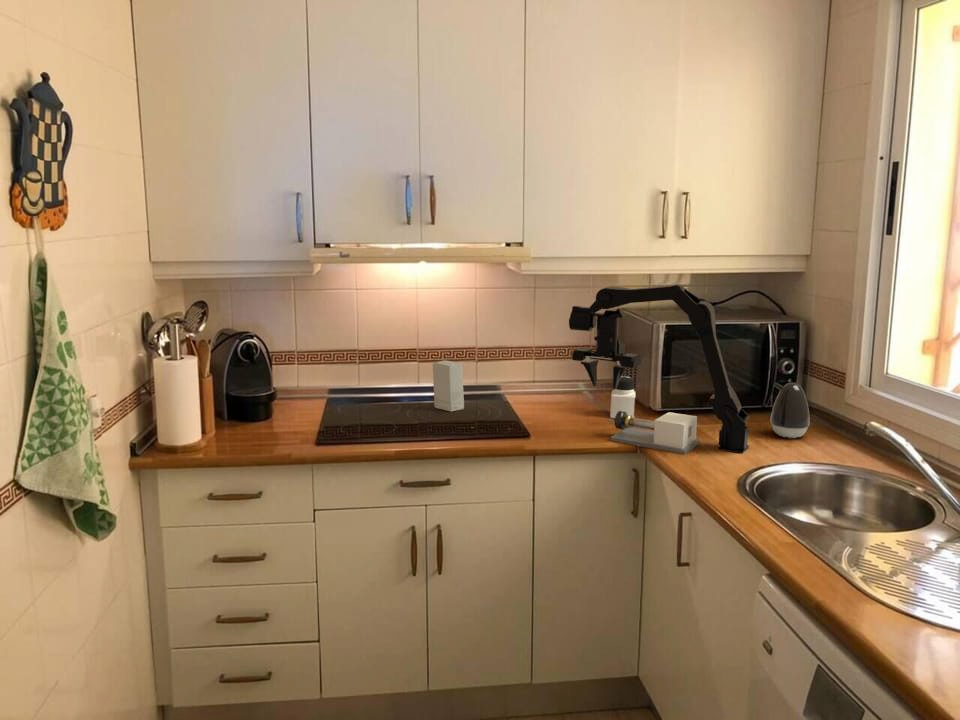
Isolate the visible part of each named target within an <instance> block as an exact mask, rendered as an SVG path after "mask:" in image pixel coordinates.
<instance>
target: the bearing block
mask: <svg viewBox="0 0 960 720" xmlns="http://www.w3.org/2000/svg"><path fill="white" fill-rule="evenodd" d="M654 421H655V426H654V430H649V429H643V428H637V427H631V428H626V427H625V428H624V429H622V430H621V431H619V432H617V433H615V434H614V435H612V436H610V439H609V441H610V442H614V443H622V444H627V445H631V446H638V447H644V448H648V449H654V450H660V451H665V452H670V453H676V454H681V455H686V454H688V453H689V452H690V451H692V450H693V449H695V448H696V447H697V446H698V445H700V444H701V439H699V438H697V427H698V425H697V424H698V422H697V421H698V416H697V415H689V414H682V413H676V412H670V411H668V412H667V413H665V414H663V415H661V416H660V417H658V418H656V419H655V420H654Z"/></svg>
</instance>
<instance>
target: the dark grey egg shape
mask: <svg viewBox="0 0 960 720" xmlns="http://www.w3.org/2000/svg"><path fill="white" fill-rule="evenodd" d="M773 386H774V387H775V388H776V389H778V390H779V392H778V394H777V396H776V398H775V401H774V403H773V407H772V411H771V415H770V422H769V423H771V428H772V430H773V431H774V433H775V434H776V435H778V436H780V437H781V436H782V438H785V437H788V438H787V439H797V437H798V438H800V437H802V436H803V435H805V433H806V432H807V430H808V428H809V427H810V421H811V420H810V409H809V403H808V400H807V397H806V393H805V391H804V389H803V387H802V386H801V385H800V384H798V383H796V382H789V383H786V384H785V385H784V386H783V385H781V384H779V383H778V382H774V384H773Z"/></svg>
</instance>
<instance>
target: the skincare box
mask: <svg viewBox="0 0 960 720" xmlns="http://www.w3.org/2000/svg"><path fill="white" fill-rule="evenodd" d="M463 373H464V372H463V362H457V361H451V360H440V361H436V362H433V363H432V376H433V377H432V379H433V399H434V408H435V409H439V410H444V411H447V412H454V411H461V410H464V409H465V399H464V398H465V397H464V395H465V394H464V378H463V377H464V376H463Z"/></svg>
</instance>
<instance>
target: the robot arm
mask: <svg viewBox="0 0 960 720" xmlns="http://www.w3.org/2000/svg"><path fill="white" fill-rule="evenodd" d="M660 301H661V302H662V301H673V302H674V303H675V304H676V305H677V306H678V307H679V308H680V309H681V311H683V312H684V313H685V314H686V315H688V316H687V317H688V320H689V322H690V323H691V326H692V328H693V329H694V331H695V333H696V335H697V336H698V338H699V340H700V343H701V346H702V350H703V354H704V357H705V361H706V364H707V367H708V371H709V376H710V378H711V382H712V386H713V390H714V393H712V395H710V397H709V401H710V404H711V406H712V414H713V415H716V418H717V419H718V420H719V421H721V424H722V425H721V429H720V430H719V431H718V445H719V446H718V447H717V449H718V450H722V451H728V452H733V453H739V454H744V453H745V452H746V451H747V450H748V449H749V448H750V445H749V444H748V443H749V442H748V440H749V425H748V426H747V422H748V420H749V418H750V416H749V414H748V413H746V411H745V410H744V409H742V404H741V402H740V400H739V397H738V395H737V393H736V392H735V390H734V389H733V387H732V386H731V383H730V381H729V376H728V373H727V371H726V370H727V369H726V366H725V363H724V359H723V356H722V352H721V348H720V344H719V342H718V341H719V340H718V338H717V332H716V312H715V308H714V306H713V305H712V303H710V302H708V301H705V300H701V298H699V297H698V296H696V295H695V294H694V293H692V292H691V291H690V290H688V289H687V288H685V287H684V286H683V285H682V284H679V283H676V284H673V285H662V286H653V287H652V286H650V287H649V286H648V287H637V288H636V287H635V288H629V287H628V288H627V287H623V286H611V285H609V286H607V287H604V288H603V287H602V288H601V289H599V290H598V291H597V292H596V294H595V300H594V302H593V303H592V304H591V305H590V307H588V306H580V305H573V306H572V307H571V312H570V314H569V319H568V326H569V330H570V331H581V332H583V331H584V332H592V330H593V329H595V328H596V335H595V336H593V337H594V341H596V342H595V350H593V349H592V348H588V347H587V348H586V347H579V348H577V349H574V350H573V351H572V353H571V360H572V361H577V362H580V364H581V365H583V366H584V369H585V370H586V372H587V374H588V377H589V379H590V381H591V384H592V386H593V387H597V385H598V384H597V382H598V370H597V369H598V363H599V361H605V362H612V363H616V365H615V366H613V367H612V368H613V369H612V370H613V372H612V386H613V390H614V389H616V388H617V386H618V384H619V381H620V379H621V376H623V375H624V372H625V371H626V369H628V368H630V369H631V368H636V367H638V366H641V365H642V357H641V356H640V354H638V353H630V352H629V353H628V352H627V353H625V350H626V347H627V346H626V345H627V344H626V343H624V341H623V342H622V341H621V340H620V335H618V331H619V329H618V328H619V327H618V326H619V319H623V318H624V317H626V313H625V312H624V311H623V310H622V308H621V306H625V305H629V304H634V303H636V304H637V303H646V302H647V303H648V302H660ZM618 307H619V308H618ZM614 308H617V309H616V310H612V309H614ZM609 309H610V310H609ZM603 310H604V312H600V311H603Z"/></svg>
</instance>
